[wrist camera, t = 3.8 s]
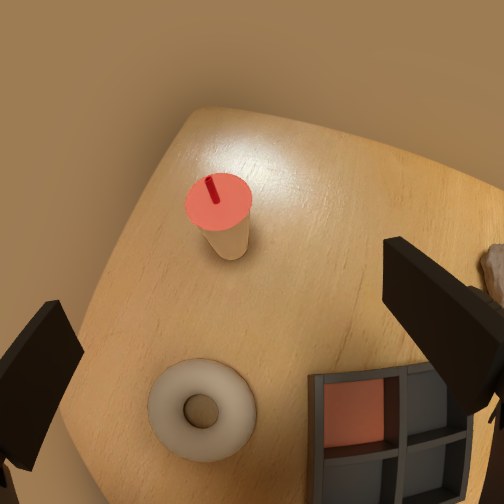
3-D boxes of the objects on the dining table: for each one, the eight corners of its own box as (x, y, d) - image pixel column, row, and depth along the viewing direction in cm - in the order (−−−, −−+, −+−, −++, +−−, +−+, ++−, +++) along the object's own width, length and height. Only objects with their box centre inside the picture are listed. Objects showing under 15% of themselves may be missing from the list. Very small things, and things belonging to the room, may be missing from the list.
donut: (271, 441, 25) (237, 345, 29) (272, 450, 22) (233, 342, 26) (173, 465, 25) (142, 373, 28) (162, 475, 22) (128, 372, 25)
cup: (196, 243, 33) (161, 179, 22) (234, 212, 34) (217, 138, 23) (228, 279, 32) (204, 225, 20) (268, 245, 33) (265, 177, 22)
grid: (305, 517, 22) (310, 537, 17) (307, 374, 28) (314, 374, 23) (444, 489, 21) (465, 500, 17) (448, 358, 27) (472, 353, 22)
